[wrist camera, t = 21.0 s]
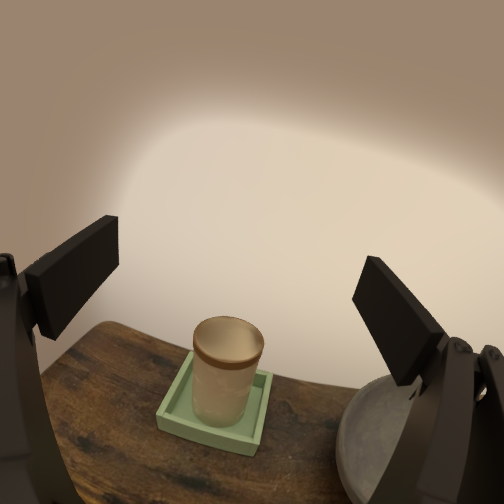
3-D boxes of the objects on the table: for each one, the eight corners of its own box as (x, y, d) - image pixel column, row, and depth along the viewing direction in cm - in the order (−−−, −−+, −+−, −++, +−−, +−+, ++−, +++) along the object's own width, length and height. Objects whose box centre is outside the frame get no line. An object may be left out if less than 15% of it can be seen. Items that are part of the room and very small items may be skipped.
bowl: (472, 515, 10) (519, 484, 7) (314, 567, 10) (356, 563, 7) (432, 404, 30) (461, 367, 27) (305, 409, 29) (327, 367, 26)
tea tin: (183, 418, 25) (182, 349, 21) (200, 380, 31) (206, 309, 26) (239, 434, 24) (258, 370, 20) (249, 393, 30) (268, 325, 26)
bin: (158, 429, 23) (155, 414, 22) (189, 368, 33) (190, 351, 32) (253, 457, 22) (259, 444, 21) (267, 389, 32) (273, 372, 31)
